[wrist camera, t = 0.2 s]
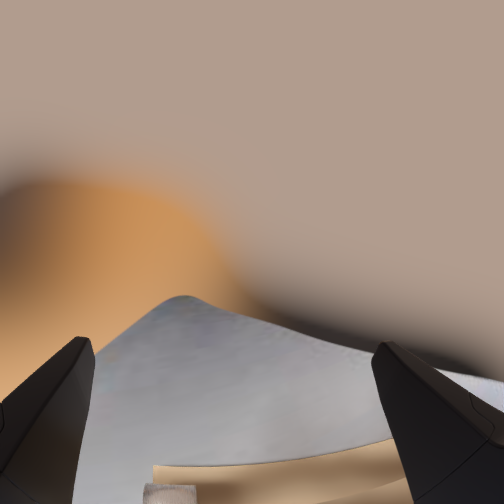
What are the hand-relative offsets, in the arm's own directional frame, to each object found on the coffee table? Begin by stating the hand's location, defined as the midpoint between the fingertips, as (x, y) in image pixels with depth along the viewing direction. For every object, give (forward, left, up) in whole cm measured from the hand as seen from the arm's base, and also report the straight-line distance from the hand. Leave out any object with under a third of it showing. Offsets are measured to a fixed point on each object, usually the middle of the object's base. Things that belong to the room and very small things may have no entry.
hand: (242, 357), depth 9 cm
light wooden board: (-1, -8, -16) cm, 18 cm away
